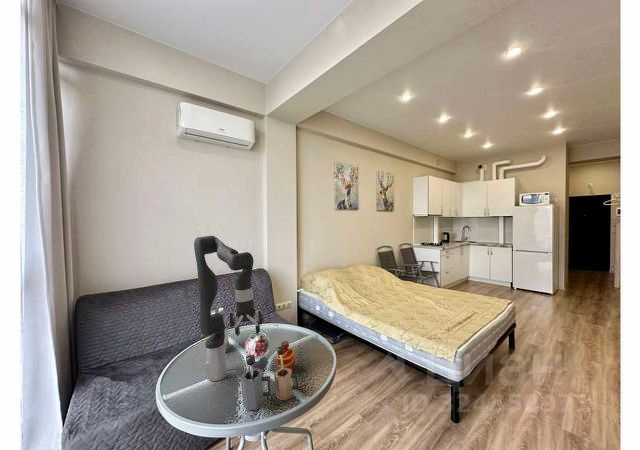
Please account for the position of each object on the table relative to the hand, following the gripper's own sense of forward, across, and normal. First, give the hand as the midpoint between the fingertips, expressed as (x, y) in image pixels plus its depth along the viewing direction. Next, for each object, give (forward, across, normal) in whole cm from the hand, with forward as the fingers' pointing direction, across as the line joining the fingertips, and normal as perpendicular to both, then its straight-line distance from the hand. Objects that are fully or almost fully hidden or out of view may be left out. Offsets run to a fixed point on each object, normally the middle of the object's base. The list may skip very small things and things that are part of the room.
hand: (248, 334), depth 113 cm
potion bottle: (+32, +12, +22) cm, 41 cm away
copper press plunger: (+25, +13, +4) cm, 28 cm away
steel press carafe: (+32, +2, 0) cm, 32 cm away
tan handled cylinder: (+32, +14, +4) cm, 35 cm away
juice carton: (+32, -33, +48) cm, 66 cm away
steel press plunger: (+29, 0, 0) cm, 29 cm away
